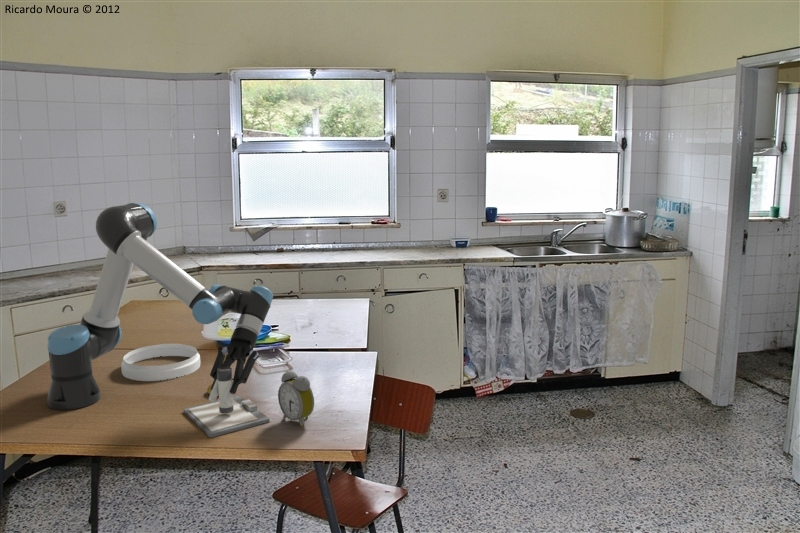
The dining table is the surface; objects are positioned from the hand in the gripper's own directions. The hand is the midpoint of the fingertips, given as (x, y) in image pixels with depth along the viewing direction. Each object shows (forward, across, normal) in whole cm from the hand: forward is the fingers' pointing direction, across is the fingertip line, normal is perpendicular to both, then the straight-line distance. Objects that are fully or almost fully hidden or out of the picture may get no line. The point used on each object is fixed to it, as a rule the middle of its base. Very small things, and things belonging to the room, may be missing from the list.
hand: (218, 402), depth 191 cm
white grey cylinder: (0, 0, -6) cm, 6 cm away
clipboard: (+1, +1, -8) cm, 8 cm away
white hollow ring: (-19, +48, -29) cm, 59 cm away
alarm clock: (-1, -21, -11) cm, 24 cm away
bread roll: (-10, +14, -20) cm, 27 cm away
